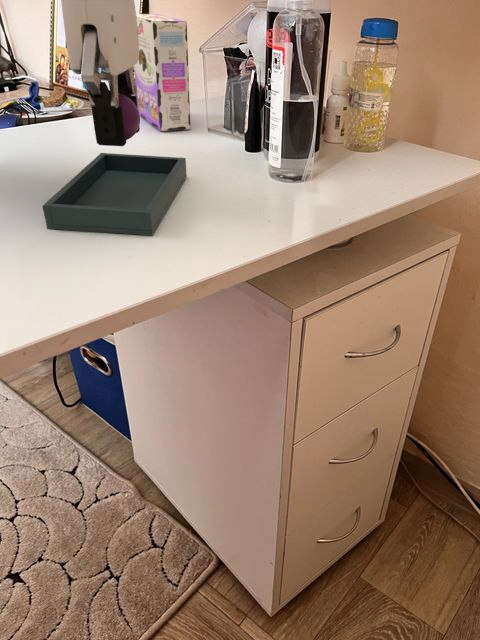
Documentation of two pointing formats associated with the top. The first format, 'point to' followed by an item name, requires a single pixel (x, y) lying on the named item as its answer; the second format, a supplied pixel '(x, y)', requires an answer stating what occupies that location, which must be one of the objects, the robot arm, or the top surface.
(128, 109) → the grape
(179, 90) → the candy box
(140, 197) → the tray
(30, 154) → the top surface
